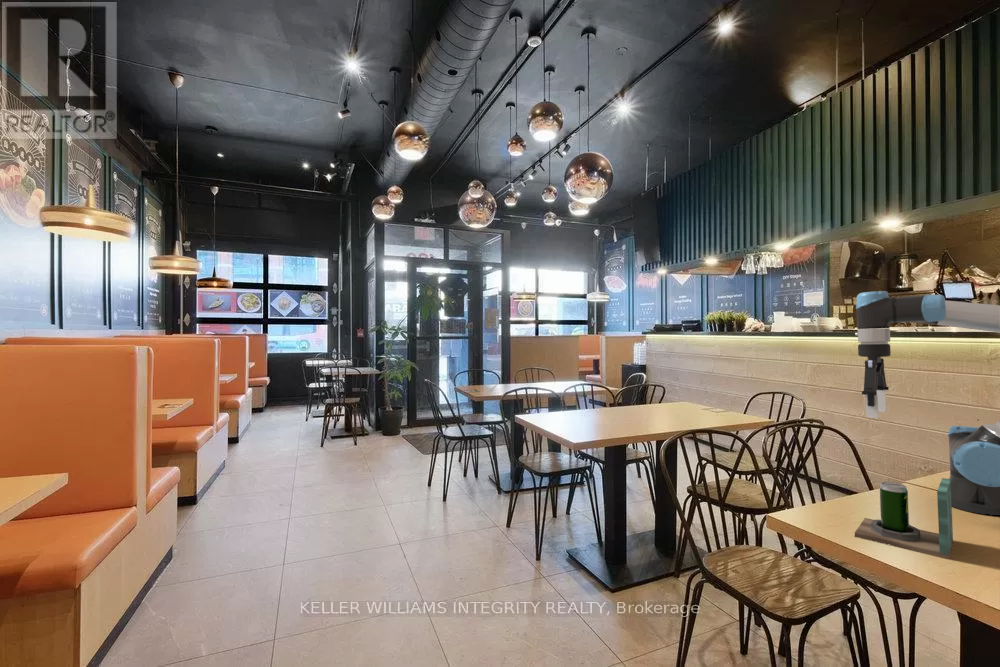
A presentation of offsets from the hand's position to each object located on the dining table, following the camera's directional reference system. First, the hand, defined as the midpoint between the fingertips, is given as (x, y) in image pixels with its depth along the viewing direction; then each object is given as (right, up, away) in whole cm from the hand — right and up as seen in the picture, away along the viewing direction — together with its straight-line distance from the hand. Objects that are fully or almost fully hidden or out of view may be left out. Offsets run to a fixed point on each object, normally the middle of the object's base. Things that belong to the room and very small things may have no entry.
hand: (876, 414), depth 136 cm
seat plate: (-12, -27, -23) cm, 37 cm away
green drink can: (-13, -26, -22) cm, 37 cm away
